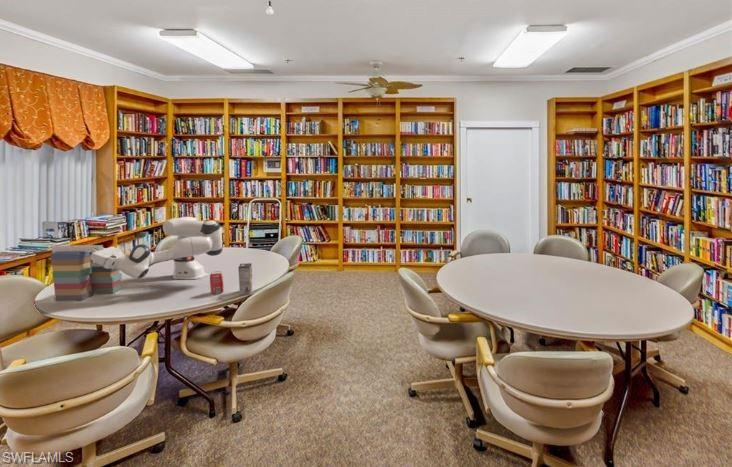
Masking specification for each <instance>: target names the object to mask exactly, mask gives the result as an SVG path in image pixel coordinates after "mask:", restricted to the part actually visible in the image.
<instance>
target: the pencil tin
mask: <svg viewBox="0 0 732 467" xmlns="http://www.w3.org/2000/svg"><path fill="white" fill-rule="evenodd" d="M91 247H93V248H95V250H97V251H100V250H103V248H104V245H103V244H98V245H97V244H96V245H95V244H94V245H93V244H92V245H91V244H90V245H85V244H84V245H74V244H73V245H53V246H51V253H54V252H90V253H92V252H91V251H89V249H90V248H91Z"/></svg>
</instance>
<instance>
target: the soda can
mask: <svg viewBox="0 0 732 467" xmlns="http://www.w3.org/2000/svg"><path fill="white" fill-rule="evenodd" d="M209 284H210V285H209V286H210V288H209V289H210V293H211V294H213V295H219V294H222V293H224V291H225V290H224V288H225V287H224V274H223V273H222V271H219V270H218V271H217V270H216V271H212V272H210V275H209Z"/></svg>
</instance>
